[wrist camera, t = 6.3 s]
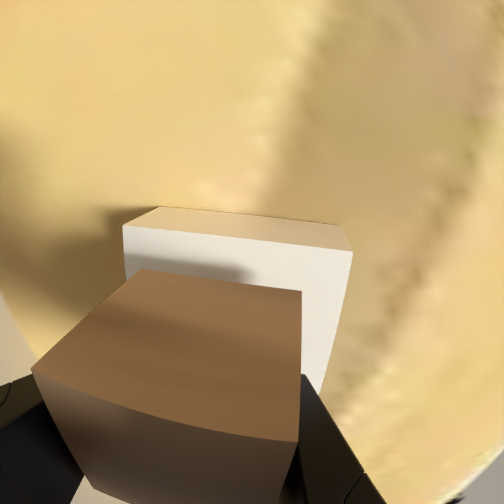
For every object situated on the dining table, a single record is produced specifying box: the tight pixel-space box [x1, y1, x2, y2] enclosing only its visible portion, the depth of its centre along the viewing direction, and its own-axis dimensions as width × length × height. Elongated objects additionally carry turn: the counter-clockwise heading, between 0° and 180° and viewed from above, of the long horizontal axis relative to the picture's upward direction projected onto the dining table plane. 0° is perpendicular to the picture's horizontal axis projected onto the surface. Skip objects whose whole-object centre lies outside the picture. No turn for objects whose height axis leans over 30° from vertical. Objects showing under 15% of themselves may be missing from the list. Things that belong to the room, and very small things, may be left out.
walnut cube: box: [31, 269, 302, 504], centre depth 6 cm, size 4×4×4 cm
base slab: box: [123, 207, 353, 396], centre depth 12 cm, size 11×7×3 cm, turn 176°
